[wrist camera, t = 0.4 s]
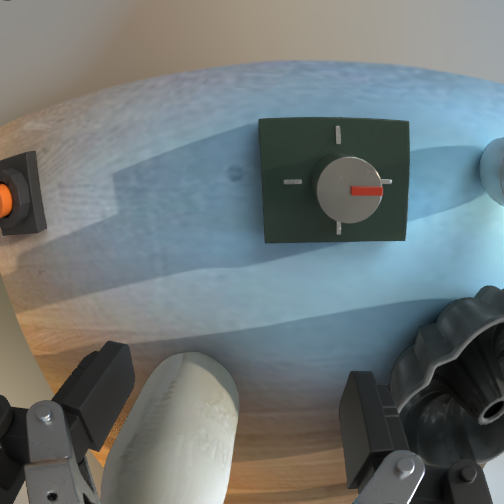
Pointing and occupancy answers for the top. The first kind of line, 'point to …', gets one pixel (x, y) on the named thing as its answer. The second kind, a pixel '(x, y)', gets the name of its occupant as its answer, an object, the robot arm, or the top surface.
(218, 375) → the off-white tall tapered cylinder
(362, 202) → the dial
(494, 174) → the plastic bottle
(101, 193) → the top surface
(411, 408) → the bundt pan
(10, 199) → the button
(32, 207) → the button block
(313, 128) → the panel
